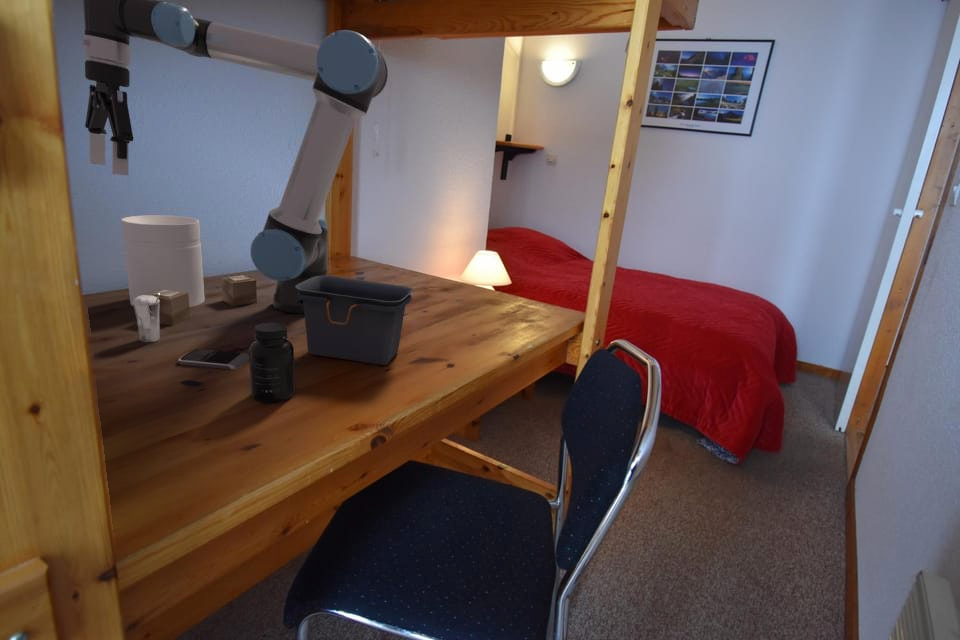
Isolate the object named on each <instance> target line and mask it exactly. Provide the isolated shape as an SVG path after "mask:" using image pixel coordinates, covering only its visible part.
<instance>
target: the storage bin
mask: <svg viewBox="0 0 960 640" xmlns="http://www.w3.org/2000/svg"><path fill="white" fill-rule="evenodd" d="M295 287H296V288H297V289H298V290H299V291H298V293H297V297H298V298H299V299H302V300H303V303H304V313H303V314H304V321H305V331H306V332H305V334H306V344H307V346H306V347H307V353H308V354H310V355H314V356H320V357H327V358H333V359H341V360H346V361H353V362H360V363H367V364H372V365H376V366H378V365H379V366H386V365H388V364H389V363H390V361H392V359H393V358H394V357H395V355H397V354H398V352H399V348H400V342H401V335H402V328H403V323H404V316H405V315H404V314H405V312H406V311H405V310H406V305H407V304H409V303H410V302H412V299H413V297H412V295H411V294H412V293H413V292H414V289H413V288H412V287H409V286H404V285H397V284H392V283H385V282H384V283H383V282H378V281H377V282H376V281H370V280H364V279H358V278H350V277H344V276H336V275H328V274H327V275H323V276H315V277H312V278H310V279H308V280H306V281H303V282H301V283H299V284H297V285H296V286H295Z"/></svg>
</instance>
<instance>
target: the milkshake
mask: <svg viewBox="0 0 960 640" xmlns="http://www.w3.org/2000/svg"><path fill="white" fill-rule="evenodd" d="M159 295H160V294H158V296H157V297H155V296H152V295H151V296H149V295H141V296H138V297H136V298H135V299H134V300H133V302H132V303H133V306H132V307H133V310H134V315H135V319H136V325H137V329H138V335H139V340H140V341H141V342H142V343H154V342H157V341H160V338H161V337H160V332H161V331H160V324H159V309H160V300H159V299H158V298H159Z"/></svg>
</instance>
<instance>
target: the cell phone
mask: <svg viewBox="0 0 960 640" xmlns="http://www.w3.org/2000/svg"><path fill="white" fill-rule="evenodd" d="M248 361H249V353H245V352H236V351H235V352H234V351H225V350H214V349H204V348H202V349H201V348H195V349H193V350H190V351H188V352H187V353H184V355H182V356H181V357H179V358H178V361H177V362H178V364H179V365H181V366H190V367H200V368H211V369H222V370H223V369H224V370H238V369H239V368H241V367H242V366H243V365H244V364H246V363H247V362H248Z"/></svg>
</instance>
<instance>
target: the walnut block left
mask: <svg viewBox="0 0 960 640" xmlns="http://www.w3.org/2000/svg"><path fill="white" fill-rule="evenodd" d="M158 294H160V295H159V298H158V299H159V300H160V309H159V325H167V326H175V325H177V324H179V323H182V322H185V321H187V320H188V319H190V318H191V313H190V312H191V311H190V309H191V308H190V307H189V295H188V293H187V292H178V291H169V290H161V291H158V292H155V293H152V294H149V296H151V295H152V296H155V297H157V296H158Z"/></svg>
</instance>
